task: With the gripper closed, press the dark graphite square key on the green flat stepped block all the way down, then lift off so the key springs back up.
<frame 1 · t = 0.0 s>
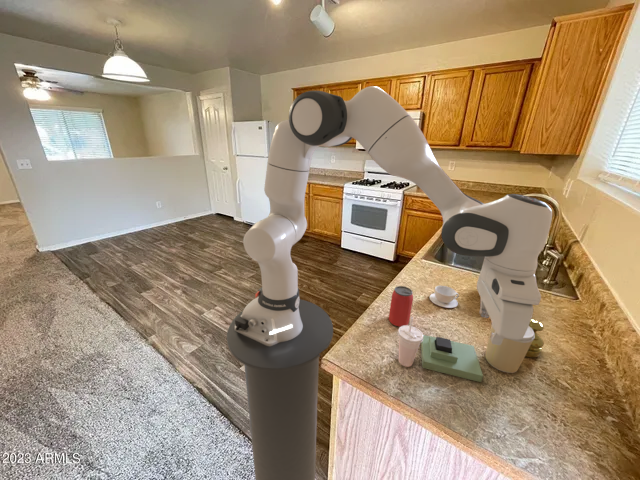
hand: (488, 328, 60), 17 cm above the counter, tool pointing down, fingers open, 8 cm apart
gold stacked stones ornament: (523, 349, 78), on the counter
smoothie: (405, 362, 72), on the counter
towel: (503, 303, 101), on the counter
coffee cup: (500, 362, 73), on the counter
beer can: (398, 321, 88), on the counter
green flat stepped block: (448, 359, 73), on the counter
key: (443, 344, 72), point 4 cm above the counter, slide at 0.1 cm
teacup: (443, 301, 101), on the counter
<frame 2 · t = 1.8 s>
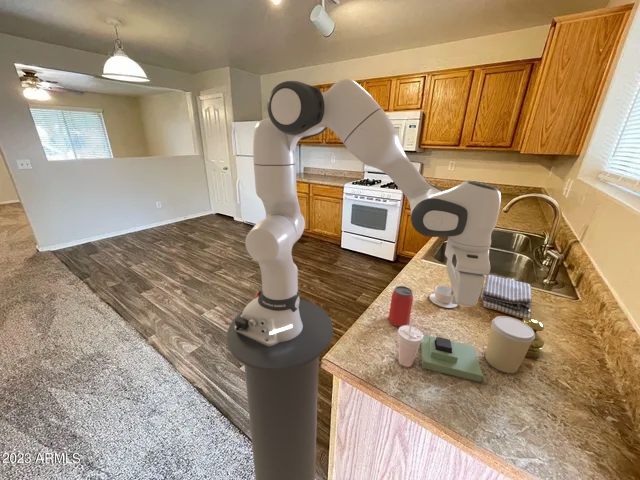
hand: (454, 301, 67), 19 cm above the counter, tool pointing down, fingers closed
nothing on the counter moved.
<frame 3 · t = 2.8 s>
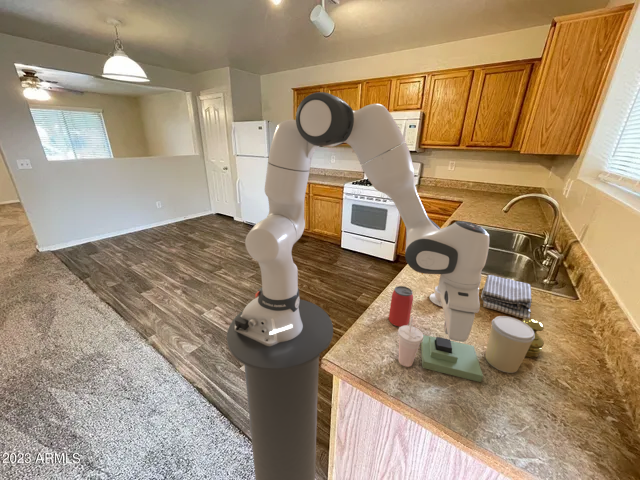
hand: (447, 331, 71), 9 cm above the counter, tool pointing down, fingers closed
nothing on the counter moved.
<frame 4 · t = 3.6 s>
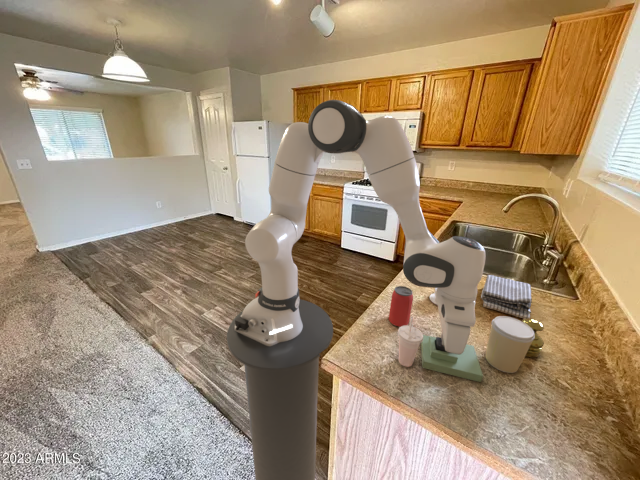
hand: (444, 342, 72), 5 cm above the counter, tool pointing down, fingers closed, pressing on key
key: (443, 344, 72), point 4 cm above the counter, slide at 0.1 cm, touching gripper
everything else where it was.
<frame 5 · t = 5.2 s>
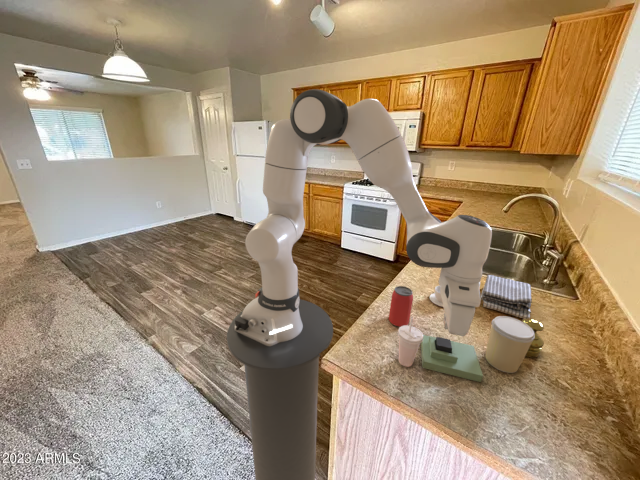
hand: (447, 326, 70), 11 cm above the counter, tool pointing down, fingers closed
key: (443, 344, 72), point 4 cm above the counter, slide at 0.1 cm
everything else where it was.
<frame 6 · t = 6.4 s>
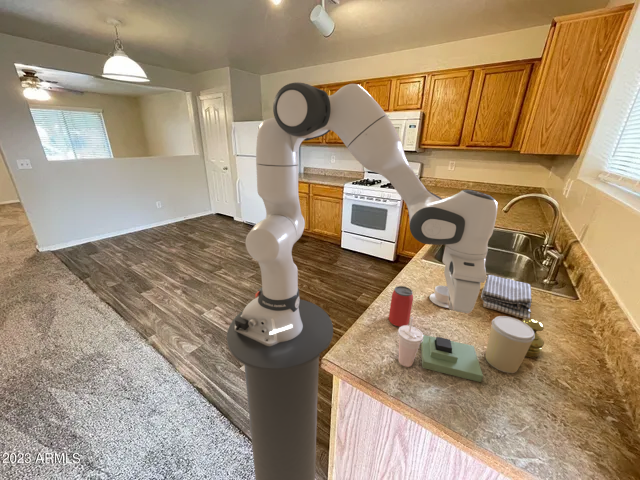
hand: (451, 306, 69), 16 cm above the counter, tool pointing down, fingers closed
nothing on the counter moved.
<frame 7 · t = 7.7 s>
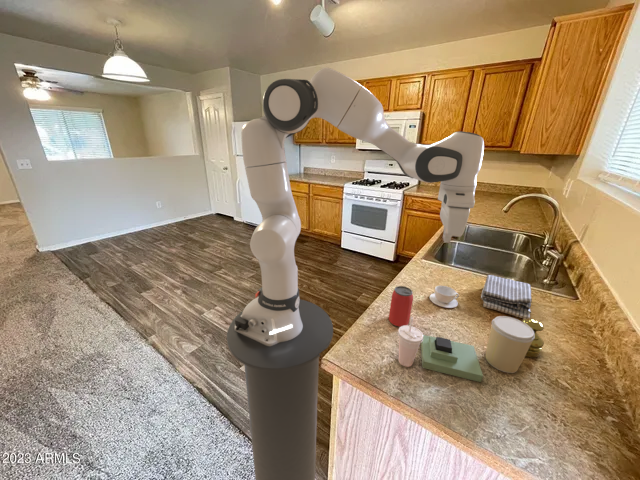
hand: (446, 241, 78), 29 cm above the counter, tool pointing down, fingers closed
nothing on the counter moved.
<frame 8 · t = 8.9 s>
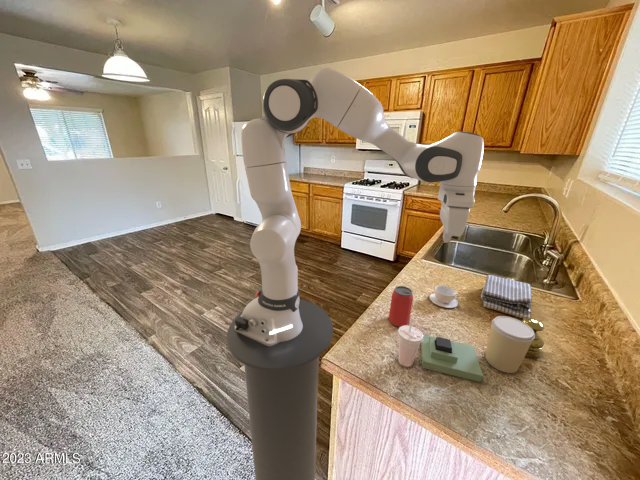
hand: (446, 240, 79), 29 cm above the counter, tool pointing down, fingers closed
nothing on the counter moved.
at the end: key pushed in 1.2 cm at the most during the clip, back to where it started at the end; key slide at 0.1 cm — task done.
